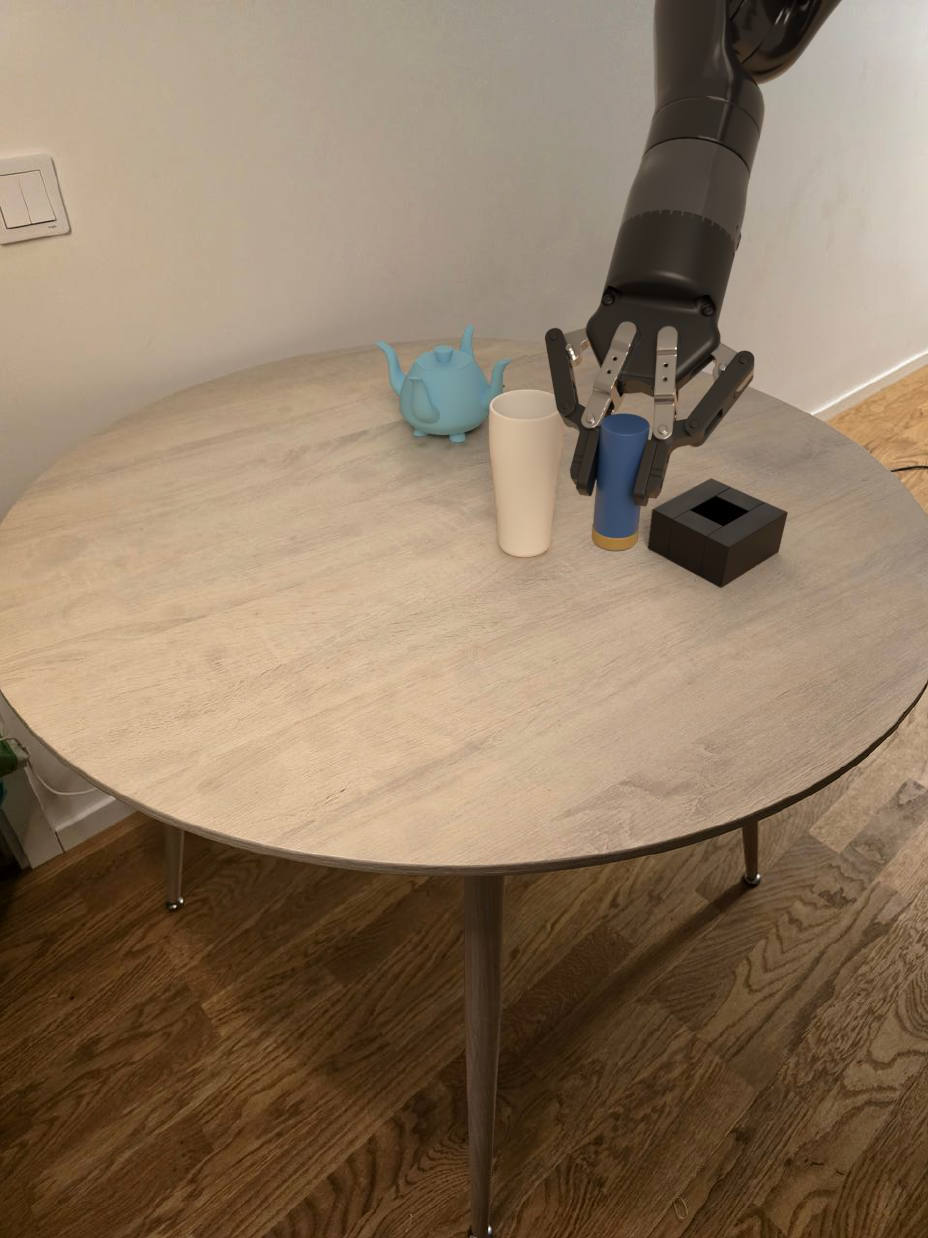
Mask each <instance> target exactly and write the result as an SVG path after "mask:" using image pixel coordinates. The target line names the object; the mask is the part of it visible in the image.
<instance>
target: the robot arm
mask: <svg viewBox="0 0 928 1238" xmlns="http://www.w3.org/2000/svg"><path fill="white" fill-rule="evenodd" d="M842 1H843V0H654V7H653V18H652V19H653V20H652V21H653V22H652V46H653V94H654V108H653V114H652V119H651V121H650V125H649V129H648V132H647V136H646V140H645V144H644V148H643V151H642V155H641V159H640V162H639V167H638V169H637V172H636V174H635V177H634V179H633V181H632V184H631V186H630V189H629V192H628V195H627V198H626V203H625V206H624V210H623V214H622V217H621V221H620V225H619V229H618V232H617V237H616V240H615V244H614V248H613V252H612V255H611V259H610V262H609V267H608V270H607V275H606V278H605V282H604V287H603V290H602V294H601V299H600V303H599V305H598V307H597V309H596V311H595V312H594V313H593V314H592V315H591V316H590V318H589V319H588V320H587V322H586V326H584V327H581V328H576V329H574V330H569V331H567V332H566V331H565V332H564V331H563V330H562V329H561V328H559V327H551V328H549V329H548V330H547V331H546V333H545V335H544V342H545V347H546V354H547V359H548V365H549V366H548V367H549V372H550V377H551V383H552V389H553V395H555V401H556V407H557V410H558V412H559V414H560V416H561V418H562V420H563V421H564V425H565V426H566V427H568V428H572V429H574V430H576V431H578V437H577V442H576V445H575V448H574V453H573V456H572V461H571V463H570V468H569V472H570V473H569V474H570V479H571V481H572V482H573V484H574V485H575V488H576V491H577V492H578V494H579V495H580V496H586V497H592V495H593V493H594V489H595V487H596V477H597V464H598V450H599V436H600V423H601V421H602V420H603V419H604V418H605V417H607V416H609V415H613V414H616V413H617V412H618V411H619V410H620V409H621V408H620V407H621V405H622V404H623V401H624V398H625V396H626V395H627V394H628V395H632V394H639V393H641V394H644V395H647V396H648V397H652V398H653V402H654V403H653V404H654V405H653V420H652V431H651V437H650V439H649V438H648V439H647V440H646V443H645V447H644V451H643V455H642V459H641V463H640V467H639V471H638V475H637V479H636V483H635V487H634V491H633V501H634V503H635V505H639V506H641V507H645V508H647V506H648V504H649V501H650V499H653V500H657V499H658V498H659V496H660V495H661V493H662V490H663V485H664V482H665V479H666V474H667V470H668V467H669V462H670V459H671V455H672V454H673V452H674V451H675V450H676V449H678V448H682V447H687V446H690V447H693V448H699V447H701V446H703V445H704V444H705V443H706V441H707V440H708V439H709V437H710V436H711V435H712V433H713V432H714V431H715V429H716V428H717V427H719V424H720V423H721V421H723V419H724V418H725V417H726V416H727V414H728V412H730V410H731V409H732V407H734V405H735V403H736V402H737V401H738V400H739V399H740V398H741V396H742V394H743V393H744V392H745V391H746V389H747V388H748V387H749V385H750V384H751V383H752V381H753V380H754V376H755V356H754V354H753V353H752V352H751V351H749V350H740V351H736V350H734V349H732V348H731V347H729V346H728V345H726V344H724V343H723V342H721V341H722V340H721V337H722V336H721V332H720V329H719V320H720V317H721V312H722V309H723V304H724V301H725V296H726V293H727V288H728V284H729V280H730V276H731V272H732V268H733V264H734V262H735V261H734V260H735V257H736V252H737V251H738V249H739V246H740V243H741V239H742V228H743V224H744V219H745V215H746V209H747V200H748V199H747V198H748V189H749V183H750V179H751V175H752V172H753V167H754V164H755V160H756V155H757V151H758V149H759V143H760V139H761V135H762V130H763V126H764V121H765V120H764V119H765V112H766V106H765V105H766V104H765V99H764V95H763V93H762V89H761V88H760V87H759V86H760V85H764V84H768V83H770V82H773V81H774V80H776V79H778V78H780V77H781V76H783V75H784V74H785V73H787V72H788V71H789V70H790V69H791V68H792V67H793V66H794V65H795V64H796V63H797V61H798V60H799V59H800V58H801V56H803V54H804V53H805V51H806V50H807V49H808V47H809V46H810V45H811V43H812V41H813V40H814V39H815V37H816V36H817V35H818V33H819V31H820V30H821V28H822V27H823V26H824V24H825V23H826V22H827V20H828V19H829V18H830V16H831V15H832V14H833V13H834V11H835V10H836V9H837V8H838V6H839V5H840V4H841V2H842ZM589 347H590V349H591V350H592V353H593V354H594V357H595V359H596V362H597V364H598V366H599V367H600V369H599V371H598V373H597V375H596V378H595V380H594V383H593V386H592V392H591V395H590V397H589V399H588V401H587V403H586V406H584V405H583V404H581V403H580V401H579V395H578V389H577V383H576V377H575V372H574V368H576V367H578V366H579V365H580V364H581V363H582V361H583V353H584V351H585V350H586V349H587V348H589ZM711 363H714V367H713V369H712V382H713V383H712V385H711V387H710V388H709V389H708V390H707V391H706V392H705V394H704V395H703V397H702V398H701V400H700V401H699V402H698V403H697V405H696V406H695V407H694V409H693V410H692V411H691V412H690V414H689V415H688V416H687V418H683V419H678V415H679V403H680V390H681V389H682V388H683V387H685V386H686V385H687V384H688V383H689V382H690V381H692V379H694V378H695V377H696V376H697V375H698V374H700V373H701V372H702V371H703V370H704V369H705V368H706V367H707V366H709V364H711Z"/></svg>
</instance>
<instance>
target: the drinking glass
mask: <svg viewBox="0 0 928 1238" xmlns="http://www.w3.org/2000/svg"><path fill="white" fill-rule="evenodd" d="M564 425H565V423H564V421H563V420H562V418H561V416H560V414H559V412H558V410H557V407H556V401H555V395H554V393H552V392H548V391H545V390H539V389H516V390H509V391H506V392H503V393H502V394H500V395H498V396H497V397H495V398H494V399H493V400H492V401H491V403H490V406H489V415H488V449H489V458H490V459H489V460H490V468H491V478H492V486H493V487H492V488H493V495H494V497H493V498H494V507H495V517H496V526H497V527H496V529H497V531H496V532H497V535H496V537H497V544H498V546H499V548H500V549H501V550H502V551H503V553H504V552H505V554H508V555H509V556H513V557H517V558H532V557H536V556H539V555H542V554H543V553H545V552H546V551H548V549H549V547H550V546H551V544H552V537H553V521H554V513H555V507H556V506H555V505H556V500H557V499H556V497H557V492H558V485H559V478H560V471H561V464H562V463H561V462H562V454H563V444H564V427H565V426H564Z"/></svg>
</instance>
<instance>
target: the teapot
mask: <svg viewBox="0 0 928 1238" xmlns="http://www.w3.org/2000/svg"><path fill="white" fill-rule="evenodd" d="M474 330H475V327H474V325H472V324H470V325H467V326H466V327H465V329H464V330H463V332H462V336H461V340H460V344H459V349H454V347H453V346H451V345H446V344H442V345H437V346H435V347H434V348H433V350H430V351H426V352H423V353H422V354H420V355H419V356H418V357H416V359H415V360H414V361H413V363H412V364H411V366H410V368H409V370H408V371H407V374H405V373H404V371H403V370H402V369H401V366H400V362H399V361H400V360H399V357H398V355H397V353H396V351H395V349H394V348H393V347H392V346H390V345H389V344H387V343H385V342H382V341H375V344H376V345H377V347H379V348H380V349H381V350H382V352H383V353H384V355H385V358H386V361H387V369H388V380H389V384H390V387H391V389H392V391H393V392H394V394H395V395H396V396H397V397H398V398H399V399H398V409H399V413H400V415H401V416H402V418H403V419H404V421H406V423H408V424H409V425H410V426H411V427H412V428H414V429H413V431H412V435H413V436H415V437H426V436H428V435H437V436H446V435H447V436H448V440H449V441H450V442H452V443H463V442H465V441H466V440H467V436H466V432H469V431H470V432H471V431H472V430H474V429H476V428H478V427H479V426H481V425H482V423H484V421H486V419H487V418H489V406H490V403H491V401H492V400H493V399H494V398H495V397H497V396H498V395H500V394H503V393H504V372H505V370H506V367H507V366H508V365H509V364H510V363H511V362H513V361H514V358H506V359H501V360H498V361H497V362H496V363H495V364H494V365H493V367H492V368H493V369H492V372H491V379H490V382H489V381H488V379H487V377H486V375H485V373H484V371H483V370H482V368H481V367H480V366H479V364H478V362H476V359H475V354H474V347H473V335H474Z"/></svg>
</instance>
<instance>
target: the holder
mask: <svg viewBox="0 0 928 1238" xmlns="http://www.w3.org/2000/svg"><path fill="white" fill-rule="evenodd" d="M788 514H789V513H788V511H786V510H784V509H782V508H779V507H778V506H775V505H773V504H771V503H769V502H766V501H763V500H761V499H759V498H756V497H754V496H753V495H750V494H748V493H745V492H743V491H742V490H739V489H737V488H735V487H731V486H730V485H727V484H725V483H723V482H721V481H718V480H716V479H714V478H709V479H707V480H705V481H703V482H701V483H699V484H698V485H695V486H693V487H691V488H690V489H688V490H686V491H684V492H682V493H680V494H678V495H677V496H674V497H673V498H670V499H669V500H667V501H665V502H662V503H661V504H660V505H658V506H655V507H654V508H652V510H651V517H650V526H649V532H648V533H649V535H648V542H647V549H648V550H650V551H652V552H654V553H656V554H658V555H659V556H661V557H662V558H665V559H667V560H668V561H670V562H671V563H674V564H676V565H677V566H680V567H681V568H683V569H685V570H687V571H689V572H690V573H692V574H694V575H696V576H698V577H700V578H702V579H703V580H705V581H707V582H709V583H711V584H713V585H715V586H716V587H718V588H720V589H722V588H724V587H725V586H727V585H728V584H730V583H732V582H733V581H735V580H736V579H738V578H740V577H741V576H743V575H744V574H746V573H748V572H749V571H751V570H752V569H753V568H755V567H758V565H760V564H762V563H764V562H765V561H767V560H768V559H770V558H771V557H773V556H775V555H776V554H778V553H779V552H780V547H781V544H782V539H783V535H784V531H785V526H786V521H787V517H788Z"/></svg>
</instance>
